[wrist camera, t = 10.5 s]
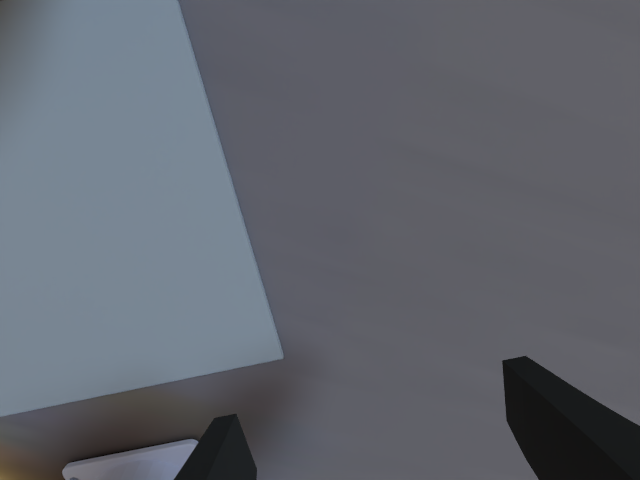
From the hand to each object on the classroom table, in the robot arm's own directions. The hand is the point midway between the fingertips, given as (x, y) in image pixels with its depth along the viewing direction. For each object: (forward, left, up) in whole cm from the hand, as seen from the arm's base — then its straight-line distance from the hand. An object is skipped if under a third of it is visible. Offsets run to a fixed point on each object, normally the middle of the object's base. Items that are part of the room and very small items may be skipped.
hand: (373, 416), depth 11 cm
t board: (+5, +19, -9) cm, 22 cm away
